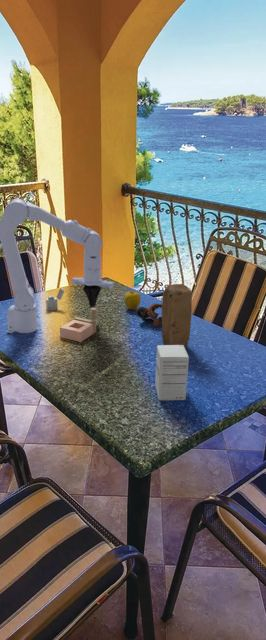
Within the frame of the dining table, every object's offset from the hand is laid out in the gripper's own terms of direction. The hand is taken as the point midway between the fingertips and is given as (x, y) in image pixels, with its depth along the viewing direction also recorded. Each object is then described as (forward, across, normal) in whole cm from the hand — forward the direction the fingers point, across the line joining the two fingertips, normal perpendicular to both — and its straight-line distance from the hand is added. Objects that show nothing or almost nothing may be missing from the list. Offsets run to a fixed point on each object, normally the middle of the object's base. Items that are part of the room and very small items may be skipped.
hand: (92, 306), depth 159 cm
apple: (+9, +6, +24) cm, 27 cm away
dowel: (+8, 0, +1) cm, 9 cm away
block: (+9, +30, -2) cm, 31 cm away
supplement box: (+9, +37, -33) cm, 50 cm away
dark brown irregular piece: (+9, +18, +14) cm, 24 cm away
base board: (+8, -2, -12) cm, 15 cm away
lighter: (+9, -22, +13) cm, 27 cm away
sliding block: (+7, -2, -10) cm, 12 cm away
